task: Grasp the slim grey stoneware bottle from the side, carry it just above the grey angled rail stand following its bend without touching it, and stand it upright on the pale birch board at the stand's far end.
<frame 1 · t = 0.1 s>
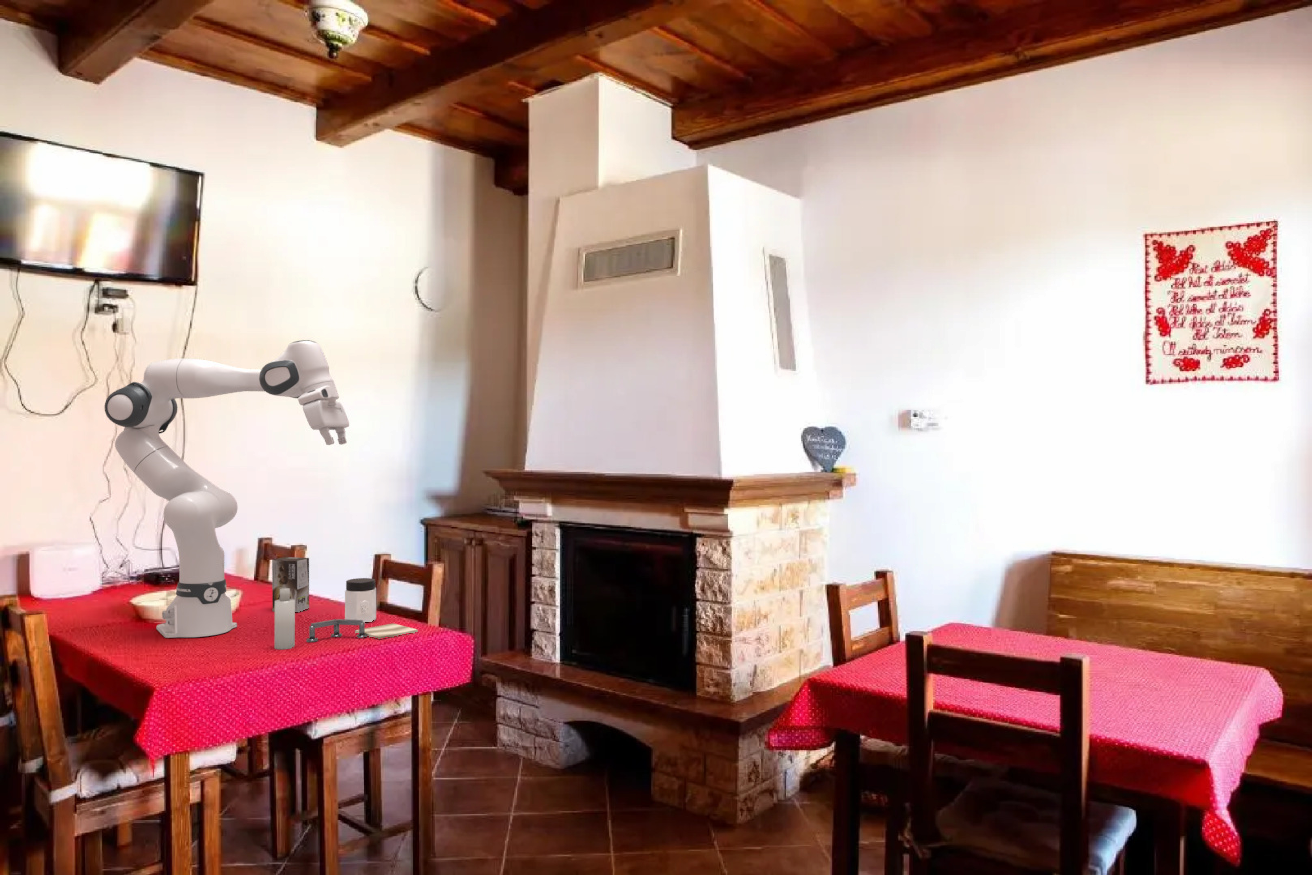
hand: (337, 444, 244), 52 cm above the table, tool tilted 20°, fingers open, 8 cm apart
stoneware bottle: (284, 647, 228), on the table
birch board: (386, 632, 245), on the table
grey angled rail stand: (312, 641, 235), on the table
coffee box: (290, 611, 275), on the table
jar: (360, 621, 260), on the table
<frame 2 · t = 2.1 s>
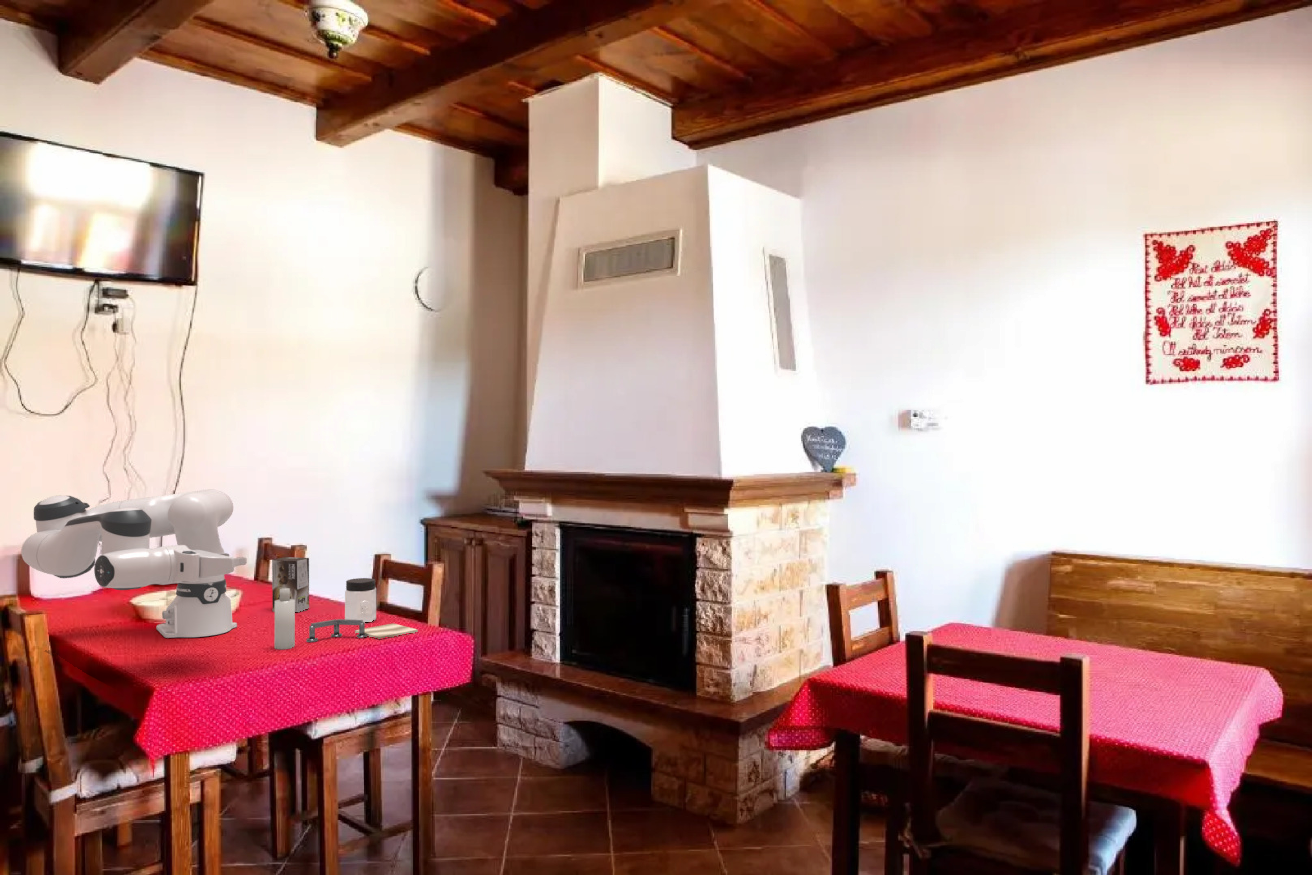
hand: (236, 558, 219), 24 cm above the table, tool horizontal, fingers open, 8 cm apart
nothing on the table moved.
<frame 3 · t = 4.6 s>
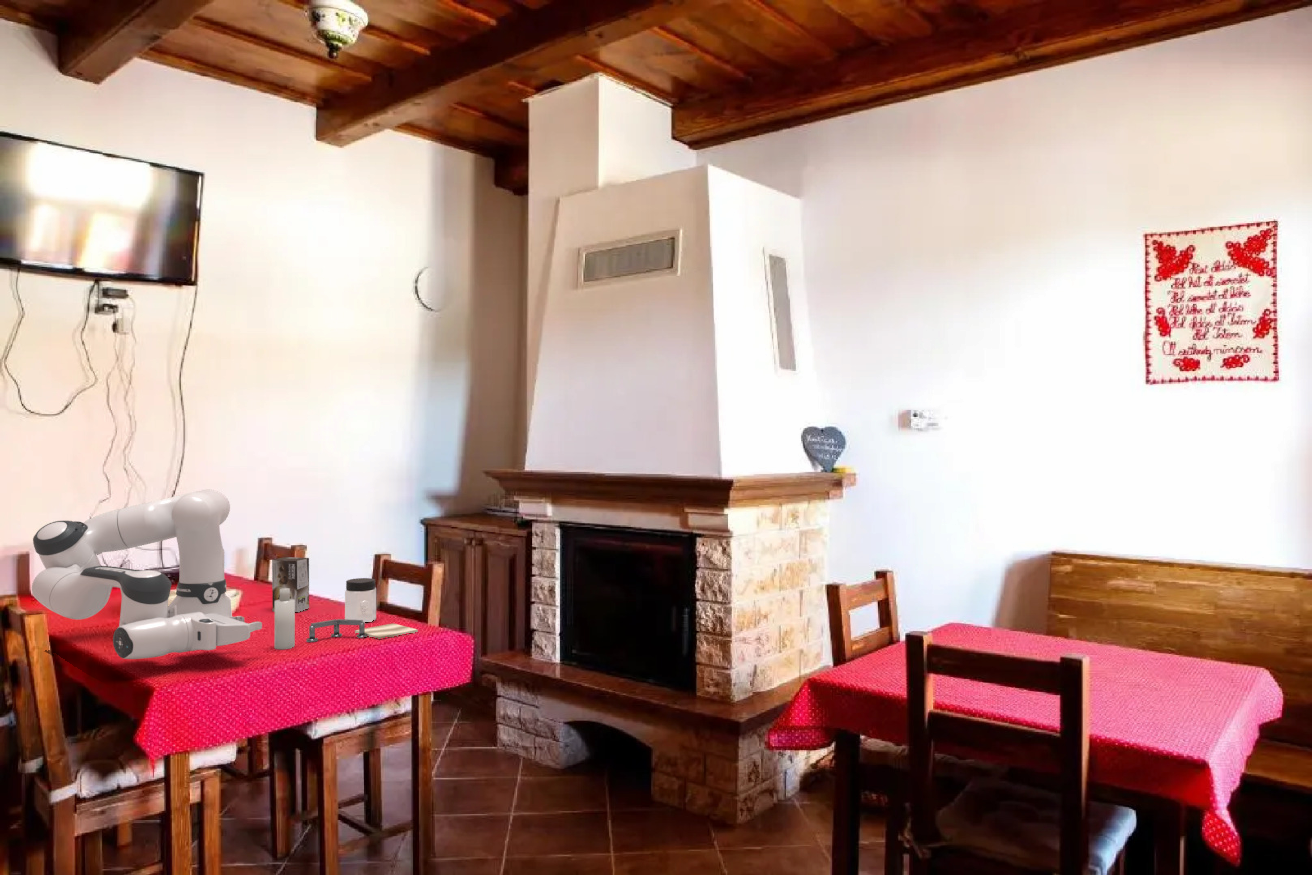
hand: (251, 622, 221), 8 cm above the table, tool horizontal, fingers open, 8 cm apart
nothing on the table moved.
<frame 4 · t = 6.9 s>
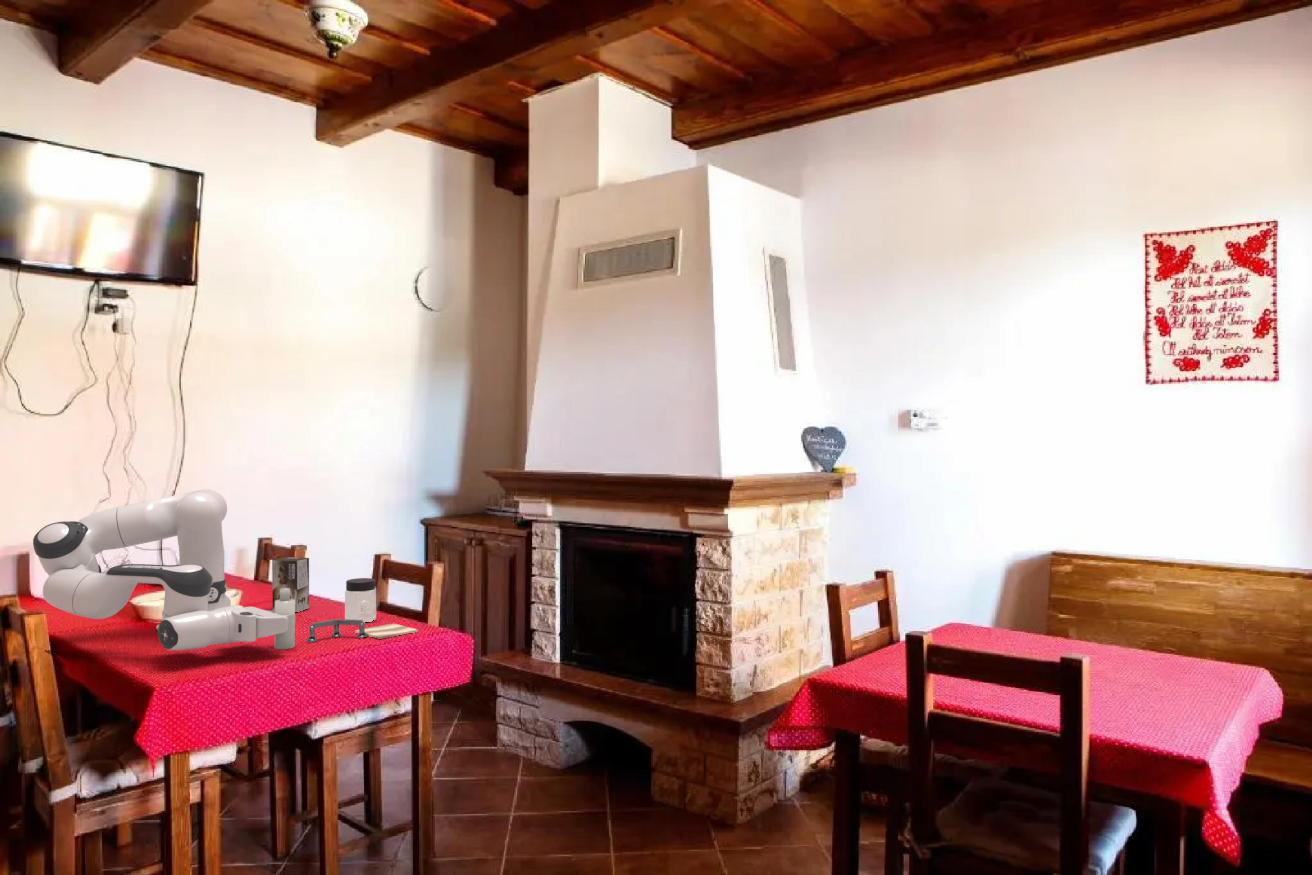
hand: (288, 615, 229), 8 cm above the table, tool horizontal, fingers closed on stoneware bottle, 5 cm apart
stoneware bottle: (284, 647, 228), on the table, touching gripper
everything else where it was.
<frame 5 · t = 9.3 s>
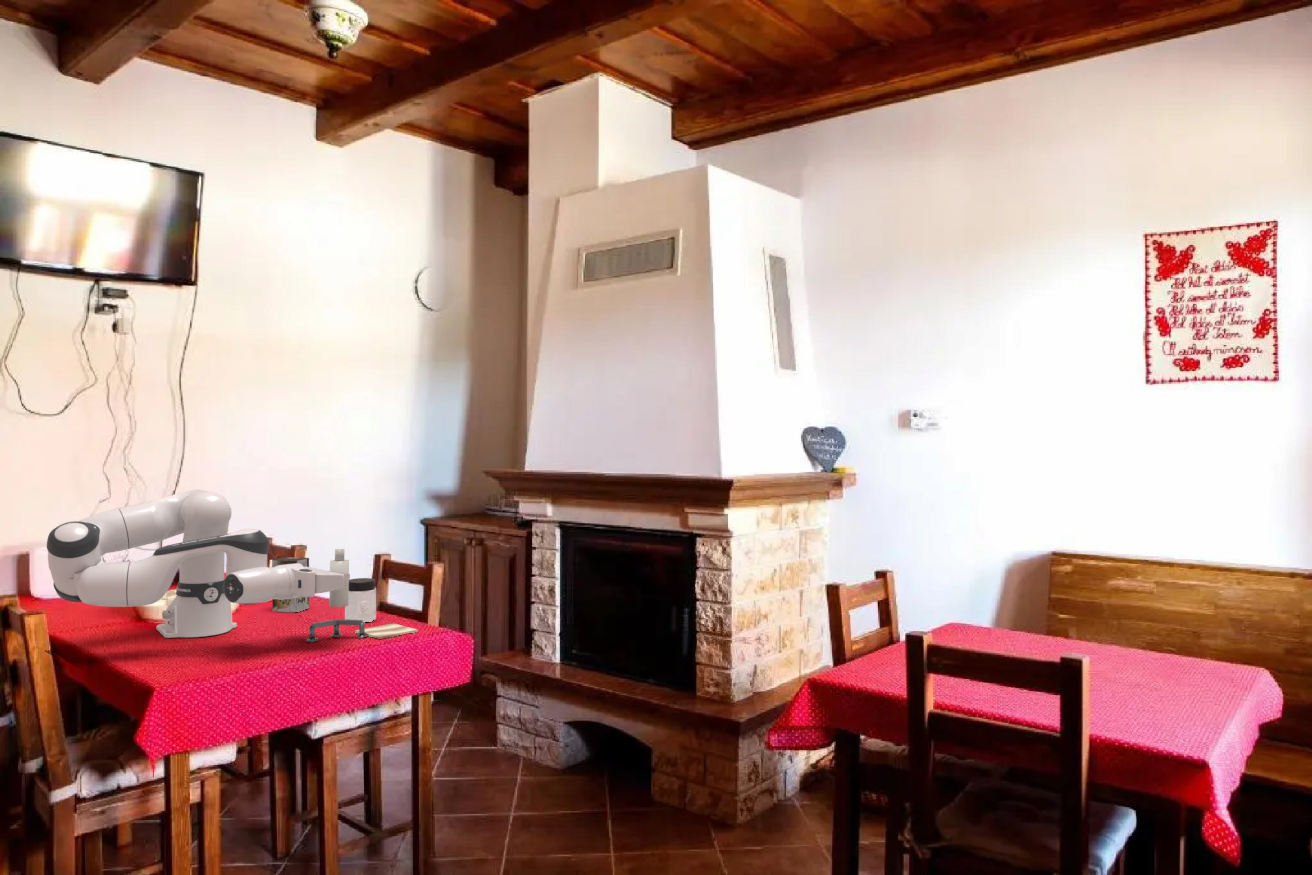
hand: (342, 574, 240), 17 cm above the table, tool horizontal, fingers closed on stoneware bottle, 5 cm apart
stoneware bottle: (339, 605, 239), point 9 cm above the table, touching gripper
everything else where it was.
when the fingers open (10 cm above the table, at t = 11.9 s): stoneware bottle stays where it is, resting on birch board.
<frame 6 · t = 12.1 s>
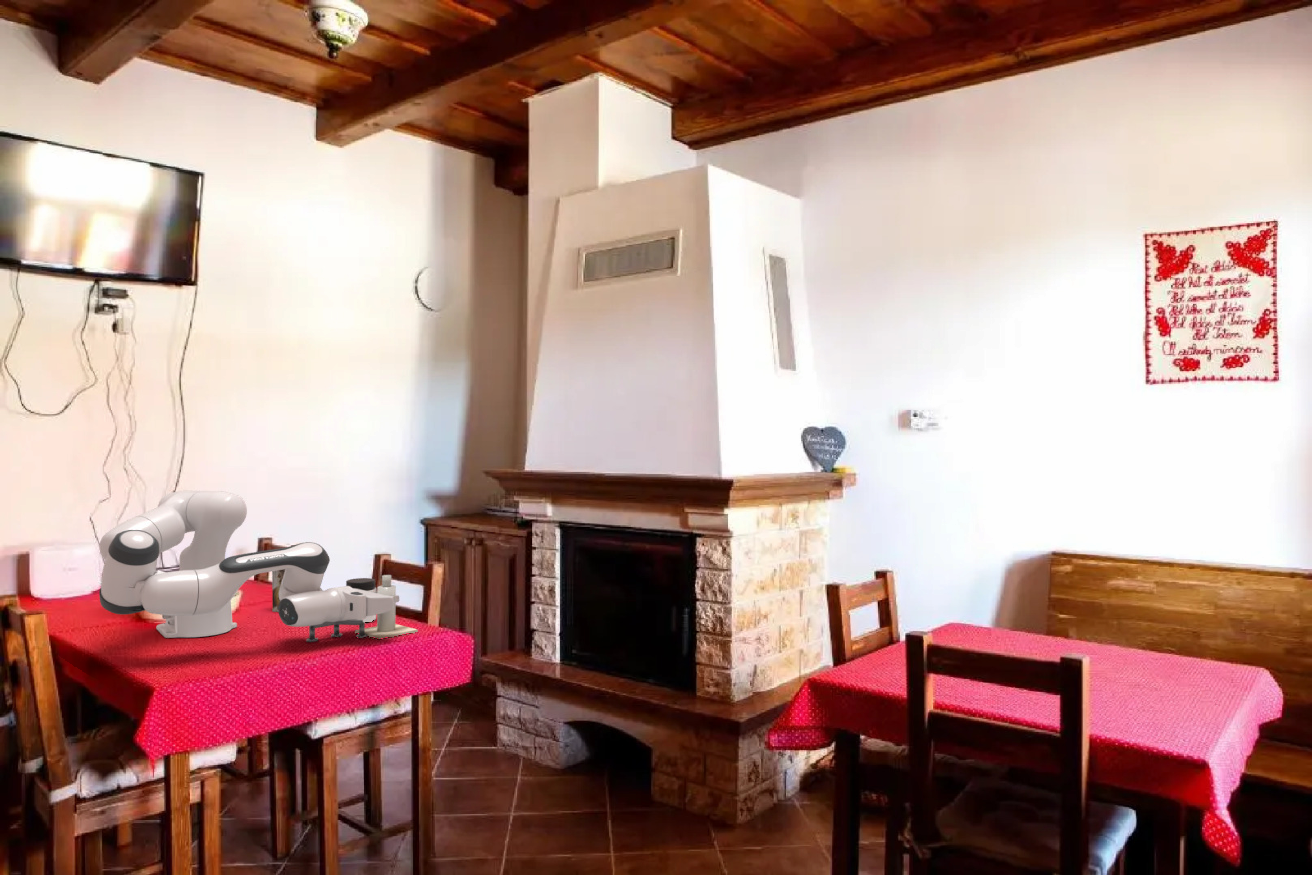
hand: (389, 596, 246), 10 cm above the table, tool horizontal, fingers open, 7 cm apart
stoneware bottle: (386, 629, 245), point 1 cm above the table, touching birch board
everything else where it was.
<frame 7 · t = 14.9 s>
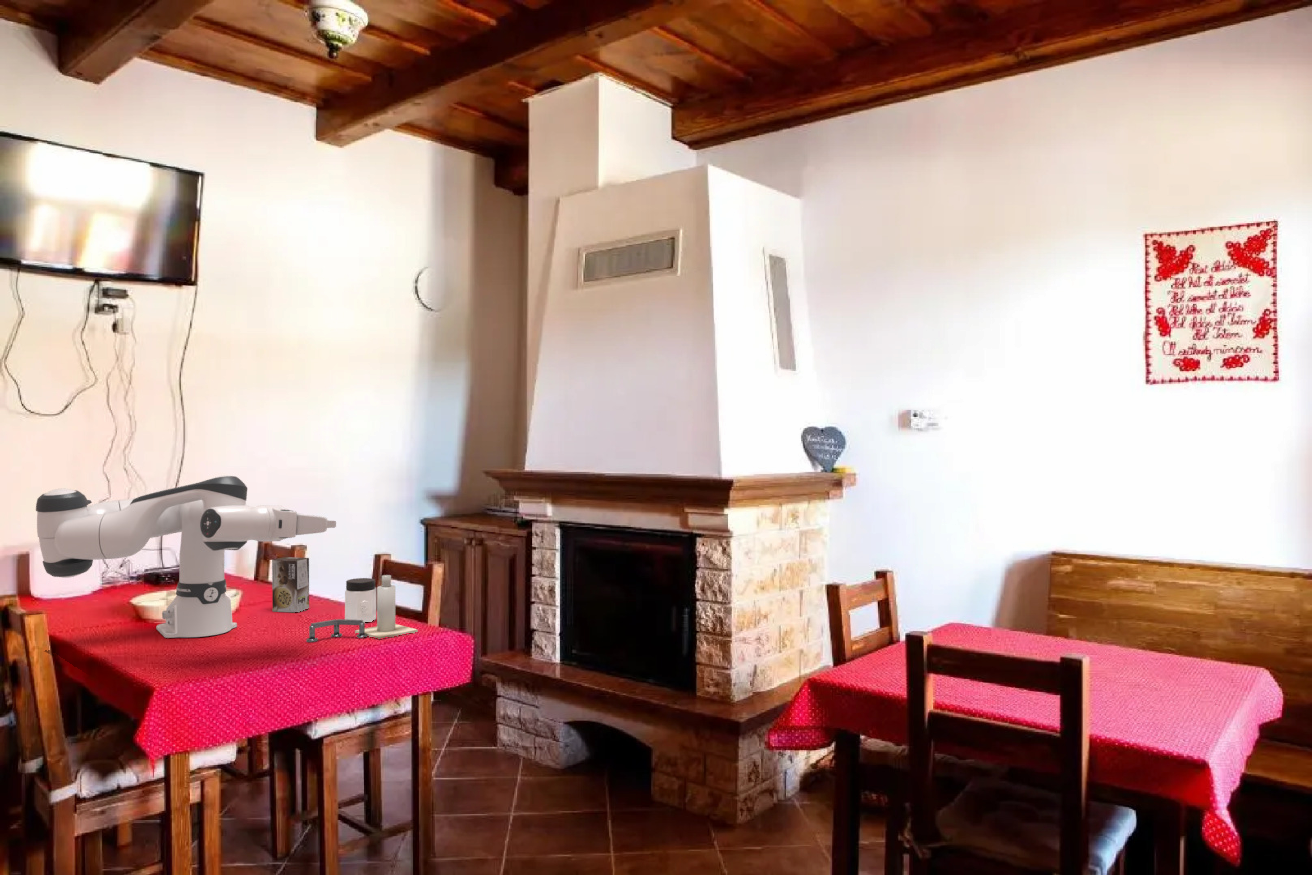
hand: (325, 523, 231), 32 cm above the table, tool horizontal, fingers open, 8 cm apart
nothing on the table moved.
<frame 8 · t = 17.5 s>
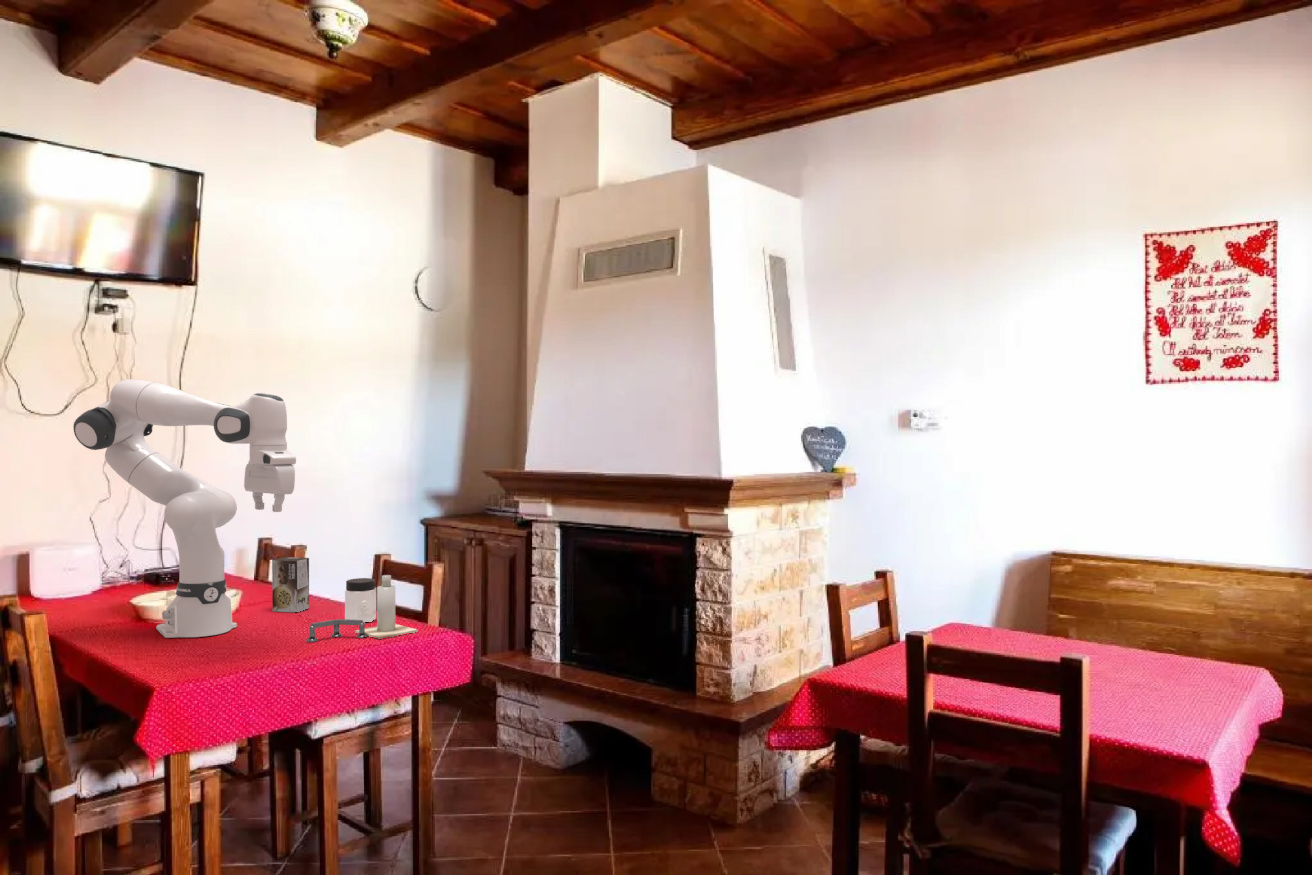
hand: (268, 510, 228), 35 cm above the table, tool pointing down, fingers open, 8 cm apart
nothing on the table moved.
at the end: stoneware bottle inside the target area on the birch board (0.1 cm from its centre), point 0.8 cm above the birch board's base; stoneware bottle tilted 0°; stoneware bottle touching birch board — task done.
